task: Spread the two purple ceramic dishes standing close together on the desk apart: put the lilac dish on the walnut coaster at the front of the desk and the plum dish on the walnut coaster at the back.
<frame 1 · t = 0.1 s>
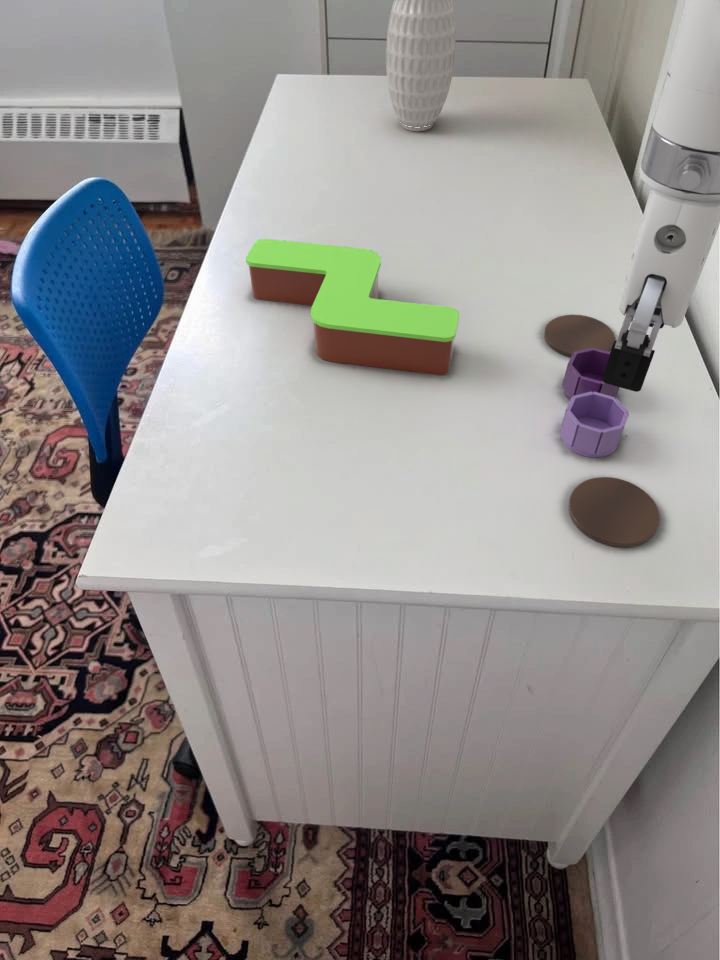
hand: (633, 353, 63), 18 cm above the table, tool pointing down, fingers open, 9 cm apart
dish plum: (589, 391, 87), on the table
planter: (348, 323, 97), on the table
coaster far: (578, 338, 94), on the table
coaster near: (612, 512, 74), on the table
dish lilac: (589, 437, 82), on the table
vase: (417, 126, 142), on the table
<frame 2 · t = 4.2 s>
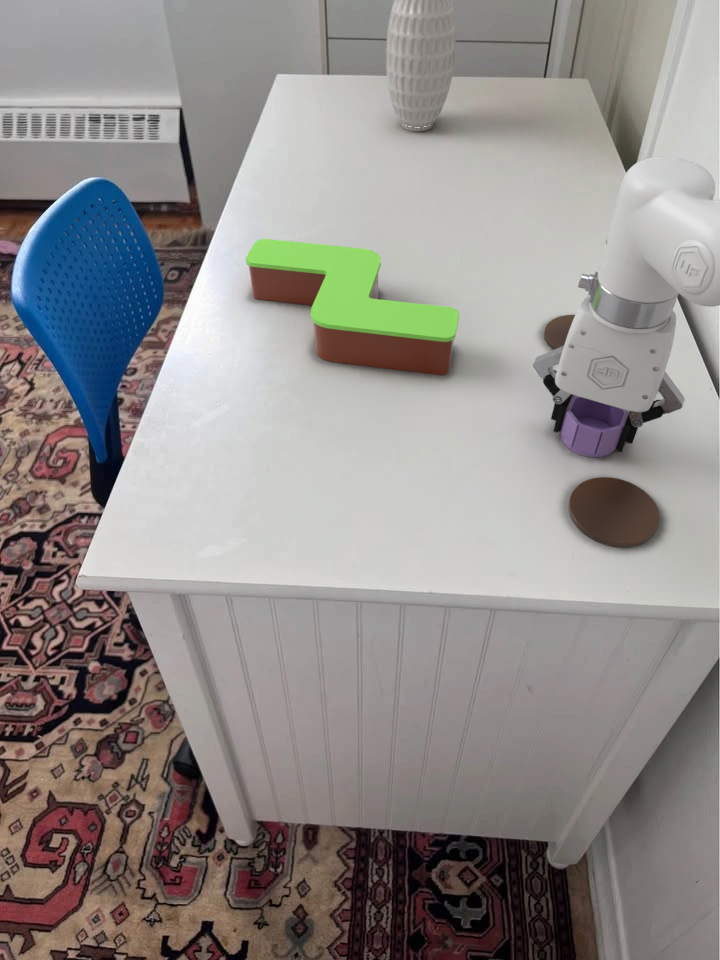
hand: (590, 433, 81), 1 cm above the table, tool pointing down, fingers closed on dish lilac, 6 cm apart
dish lilac: (589, 437, 82), on the table, touching gripper
everything else where it was.
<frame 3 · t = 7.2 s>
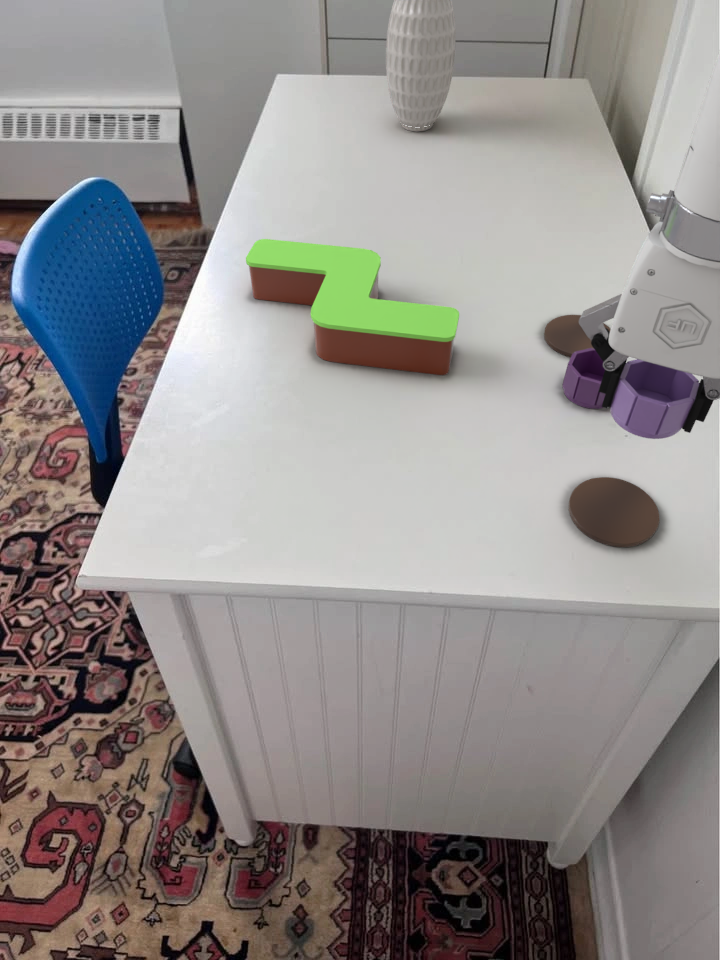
hand: (648, 409, 65), 14 cm above the table, tool pointing down, fingers closed on dish lilac, 6 cm apart
dish lilac: (646, 414, 65), point 13 cm above the table, touching gripper
everything else where it was.
when the fingers open (1 cm above the table, at t = 10.6 s): dish lilac stays where it is, resting on coaster near.
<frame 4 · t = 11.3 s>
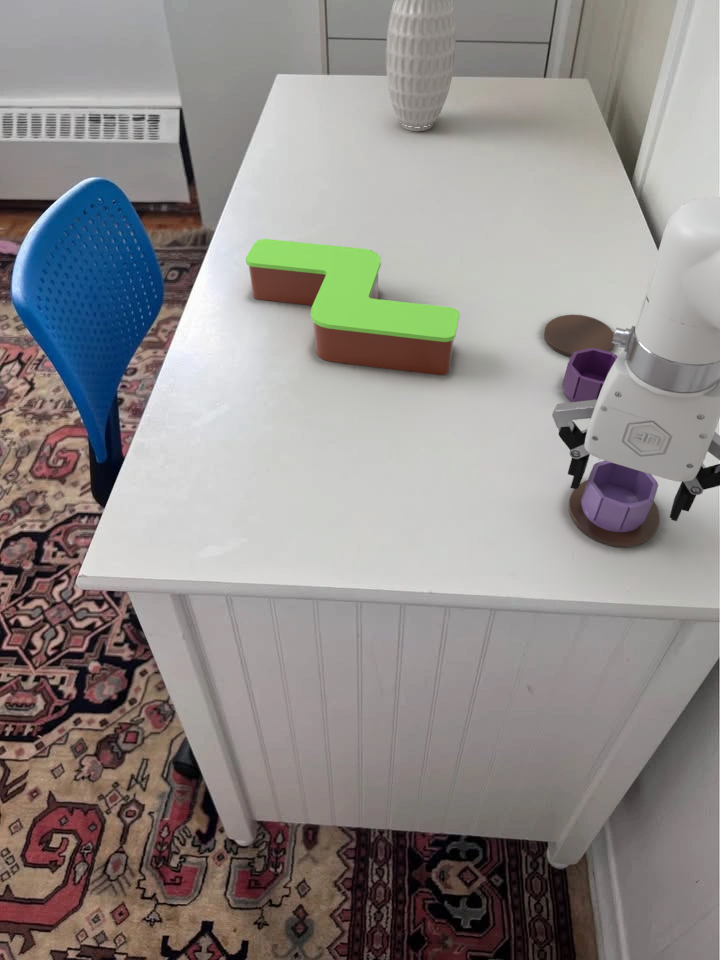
hand: (625, 494, 72), 3 cm above the table, tool pointing down, fingers open, 9 cm apart
dish lilac: (613, 508, 74), point 1 cm above the table, touching coaster near
everything else where it was.
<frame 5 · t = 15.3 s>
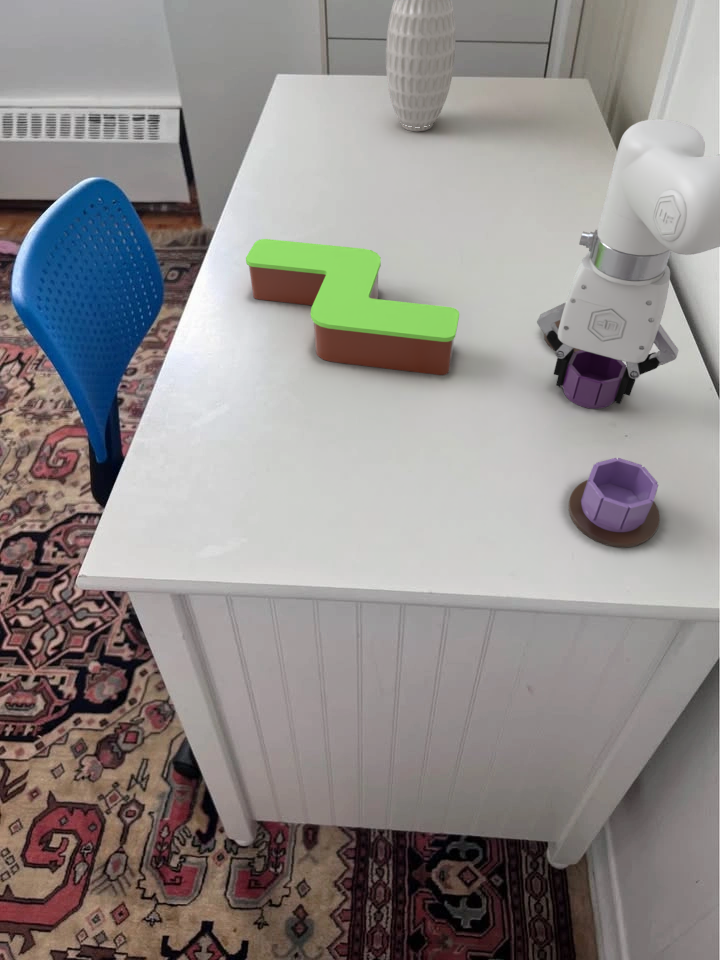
hand: (590, 387, 87), 1 cm above the table, tool pointing down, fingers closed on dish plum, 6 cm apart
dish plum: (589, 391, 87), on the table, touching gripper
everything else where it was.
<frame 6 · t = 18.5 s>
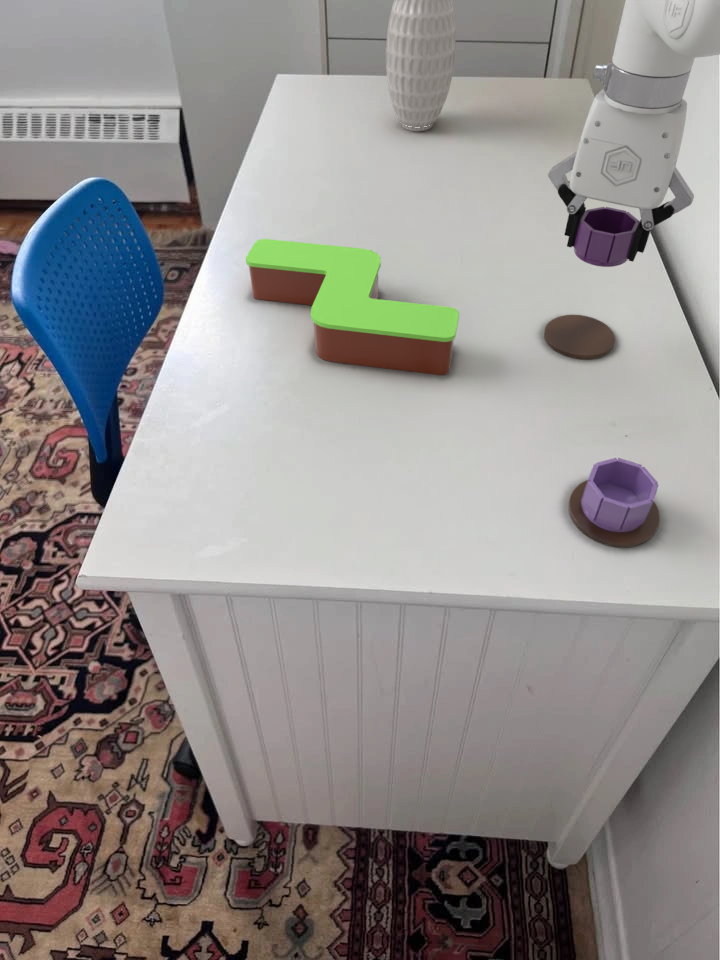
hand: (602, 247, 84), 13 cm above the table, tool pointing down, fingers closed on dish plum, 6 cm apart
dish plum: (601, 252, 85), point 13 cm above the table, touching gripper
everything else where it was.
when the fingers open (1 cm above the table, at t = 21.7 s): dish plum stays where it is, resting on coaster far.
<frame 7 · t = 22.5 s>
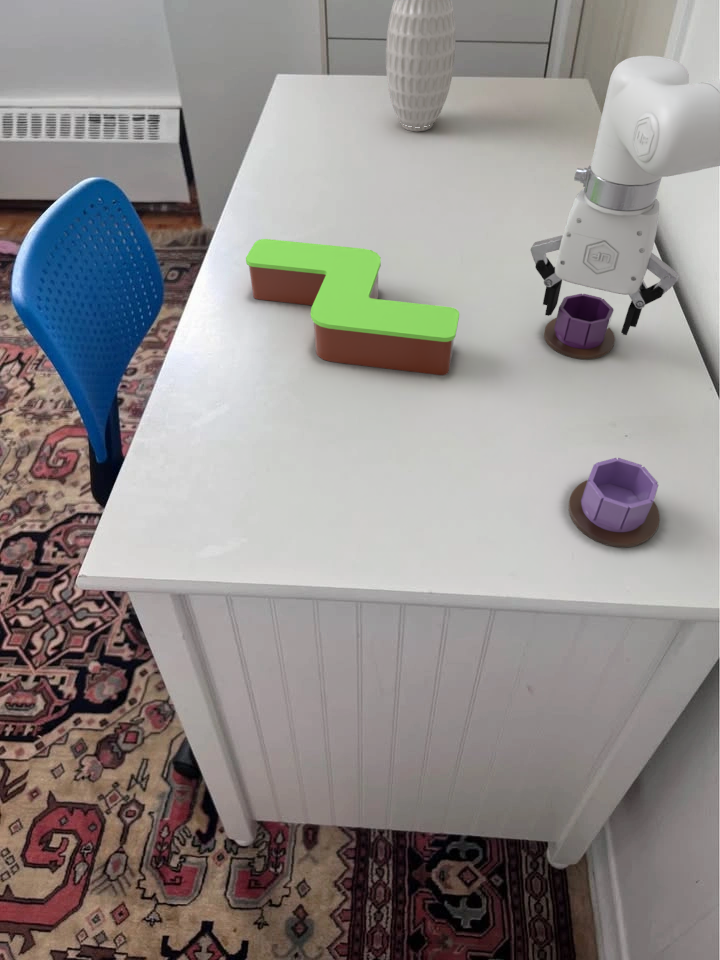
hand: (587, 319, 91), 4 cm above the table, tool pointing down, fingers open, 9 cm apart
dish plum: (579, 334, 94), point 1 cm above the table, touching coaster far
everything else where it was.
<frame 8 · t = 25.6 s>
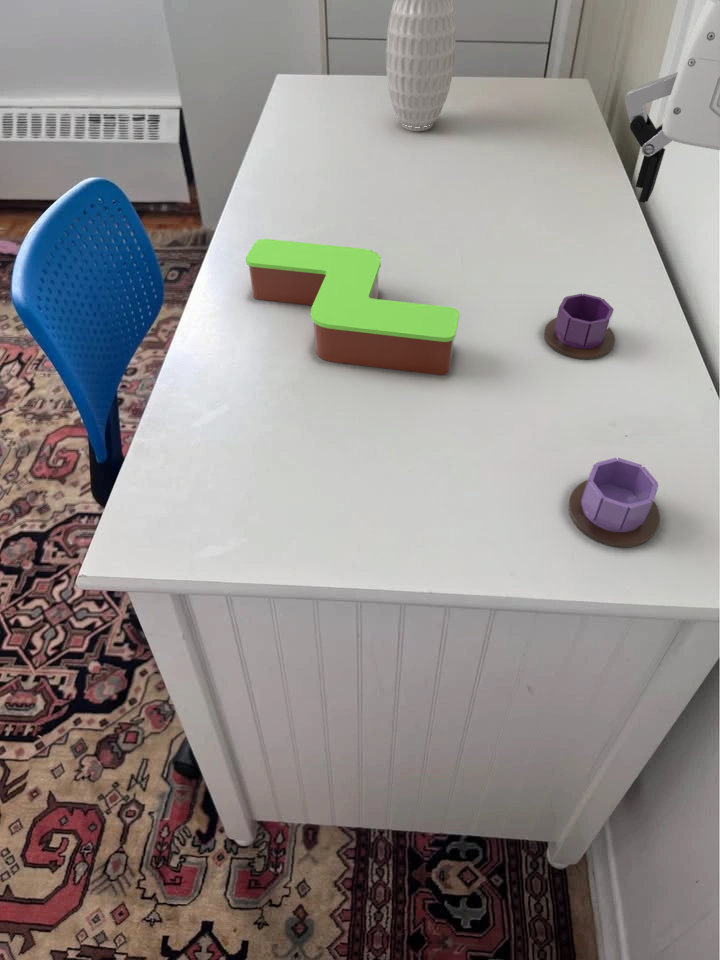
hand: (700, 207, 64), 26 cm above the table, tool pointing down, fingers open, 9 cm apart
nothing on the table moved.
at the end: dish lilac 0.1 cm off-centre on the coaster near, point 0.6 cm above the coaster near's base; dish plum 0.0 cm off-centre on the coaster far, point 0.6 cm above the coaster far's base; dish plum tilted 0° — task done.
